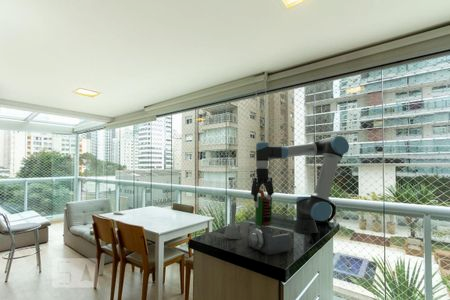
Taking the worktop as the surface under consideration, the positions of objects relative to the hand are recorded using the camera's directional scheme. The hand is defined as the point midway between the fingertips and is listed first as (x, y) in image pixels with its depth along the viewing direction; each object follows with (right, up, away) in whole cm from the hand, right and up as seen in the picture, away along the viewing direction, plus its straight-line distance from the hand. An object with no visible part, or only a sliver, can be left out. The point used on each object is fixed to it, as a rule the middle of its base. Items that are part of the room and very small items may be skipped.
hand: (262, 206), depth 139 cm
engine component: (-17, -19, +2) cm, 26 cm away
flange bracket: (-1, -17, -18) cm, 25 cm away
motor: (0, -10, -1) cm, 11 cm away
